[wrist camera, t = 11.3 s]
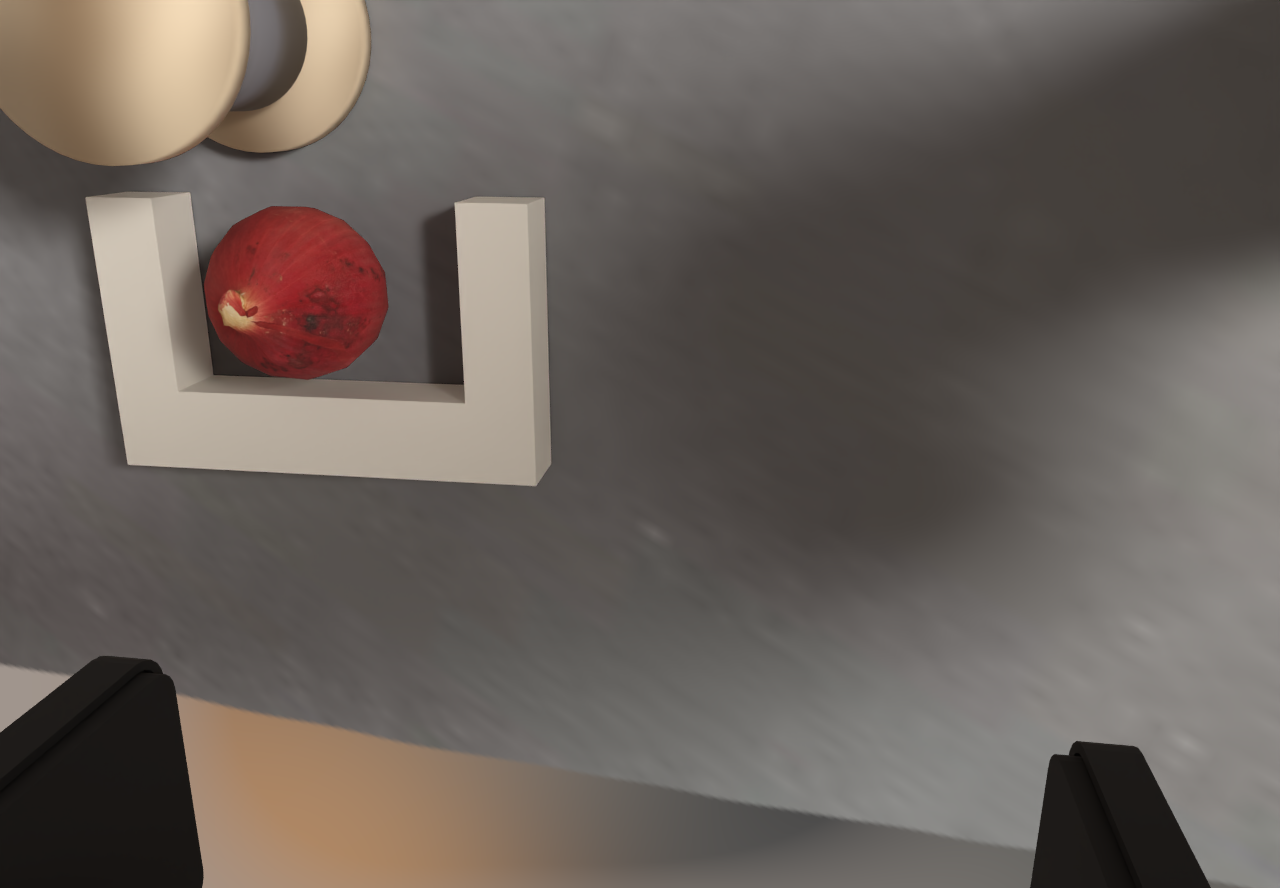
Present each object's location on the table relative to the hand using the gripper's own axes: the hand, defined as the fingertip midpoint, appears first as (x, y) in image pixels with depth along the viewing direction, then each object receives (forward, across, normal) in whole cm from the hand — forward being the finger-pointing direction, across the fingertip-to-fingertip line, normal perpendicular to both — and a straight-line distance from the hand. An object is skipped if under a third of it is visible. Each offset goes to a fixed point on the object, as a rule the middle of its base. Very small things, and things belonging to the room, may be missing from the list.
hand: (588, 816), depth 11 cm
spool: (+28, +17, -9) cm, 34 cm away
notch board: (+28, +15, +1) cm, 32 cm away
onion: (+28, +15, -1) cm, 32 cm away
